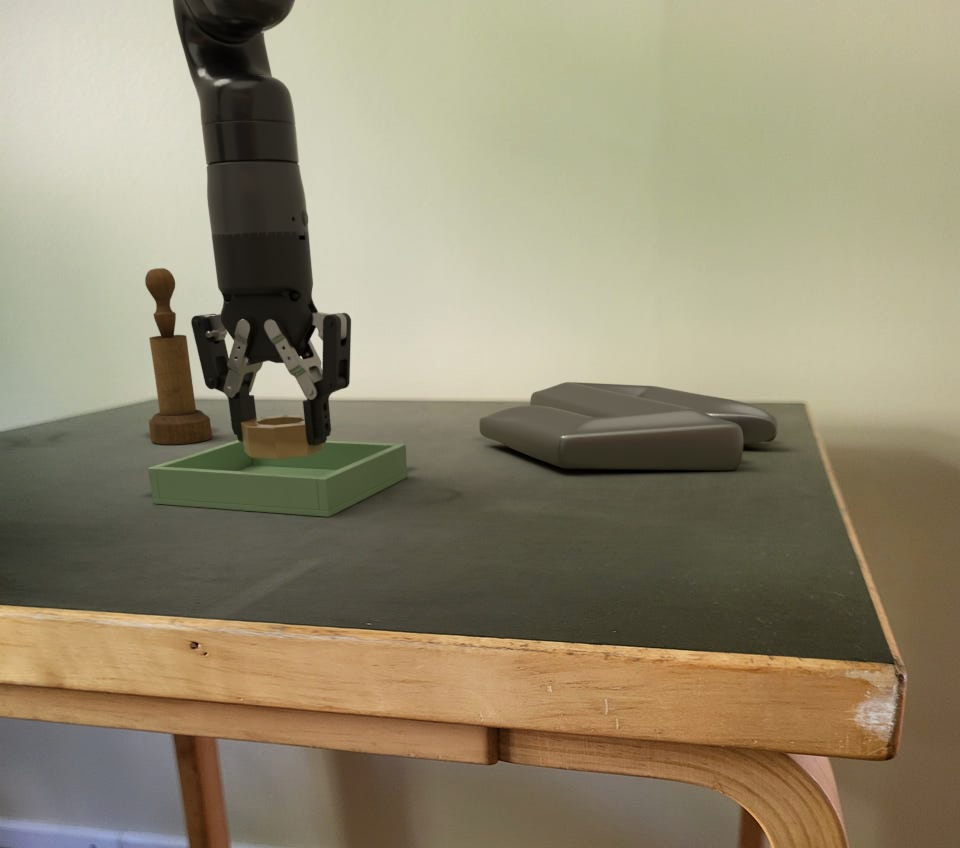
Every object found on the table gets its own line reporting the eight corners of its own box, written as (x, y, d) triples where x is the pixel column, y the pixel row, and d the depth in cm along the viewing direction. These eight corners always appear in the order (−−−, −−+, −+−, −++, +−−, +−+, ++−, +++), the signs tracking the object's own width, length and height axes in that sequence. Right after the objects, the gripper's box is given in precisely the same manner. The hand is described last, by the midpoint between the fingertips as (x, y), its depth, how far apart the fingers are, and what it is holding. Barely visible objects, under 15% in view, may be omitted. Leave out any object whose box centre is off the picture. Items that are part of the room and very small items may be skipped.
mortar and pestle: (170, 447, 105) (144, 269, 98) (140, 441, 109) (113, 269, 102) (223, 438, 109) (202, 267, 102) (192, 432, 113) (170, 267, 107)
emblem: (426, 405, 92) (567, 372, 114) (429, 461, 94) (567, 418, 116) (707, 426, 78) (808, 383, 99) (703, 491, 80) (803, 436, 101)
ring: (232, 457, 81) (228, 425, 80) (272, 443, 87) (269, 414, 86) (296, 460, 79) (293, 428, 78) (333, 446, 84) (330, 416, 83)
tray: (152, 503, 81) (147, 468, 79) (250, 468, 93) (247, 436, 92) (329, 517, 75) (325, 478, 74) (407, 477, 88) (405, 444, 86)
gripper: (154, 232, 75) (185, 447, 82) (316, 224, 71) (335, 454, 77) (211, 232, 82) (236, 431, 88) (363, 225, 77) (378, 437, 83)
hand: (282, 441), depth 82 cm, fingers closed on ring, 6 cm apart
